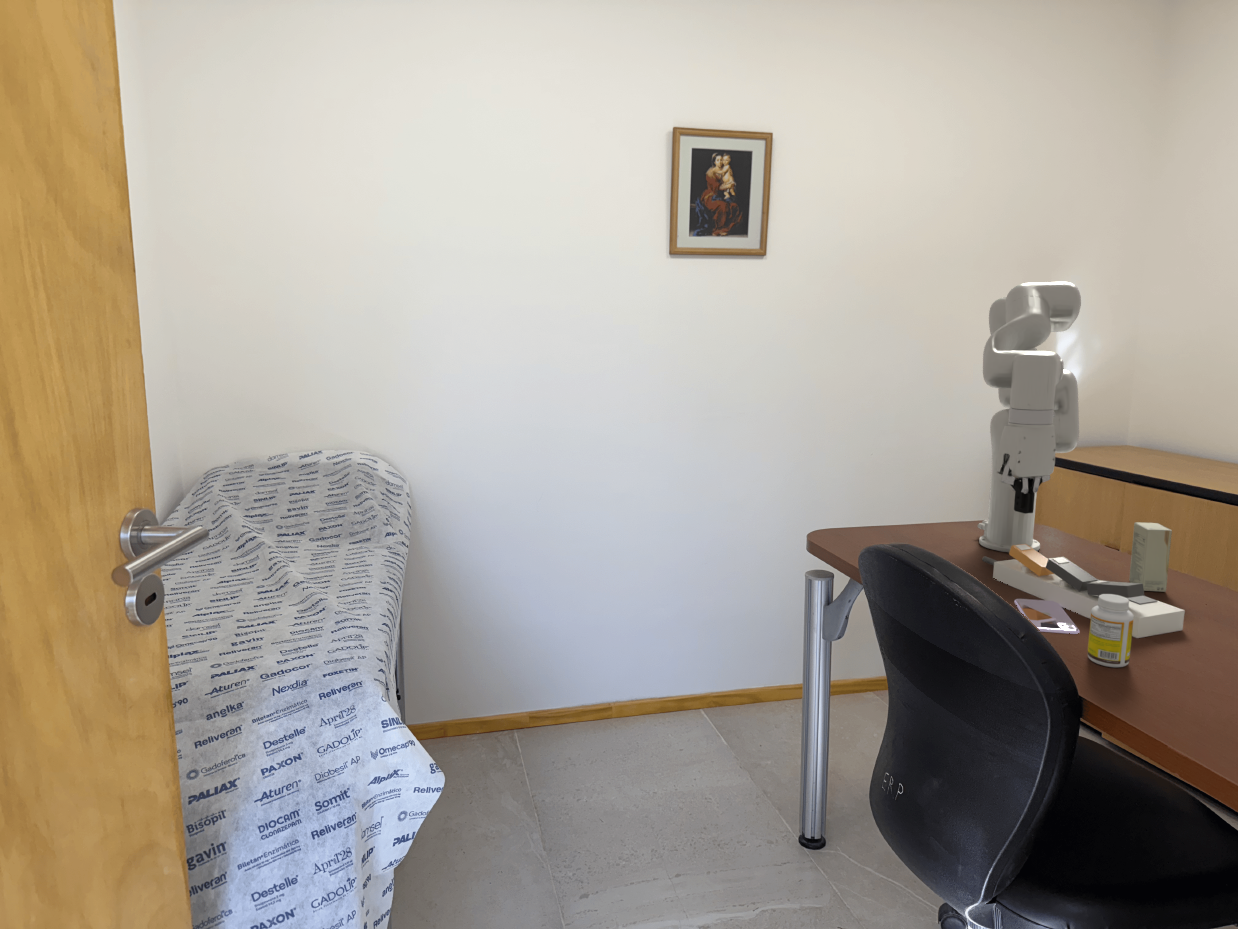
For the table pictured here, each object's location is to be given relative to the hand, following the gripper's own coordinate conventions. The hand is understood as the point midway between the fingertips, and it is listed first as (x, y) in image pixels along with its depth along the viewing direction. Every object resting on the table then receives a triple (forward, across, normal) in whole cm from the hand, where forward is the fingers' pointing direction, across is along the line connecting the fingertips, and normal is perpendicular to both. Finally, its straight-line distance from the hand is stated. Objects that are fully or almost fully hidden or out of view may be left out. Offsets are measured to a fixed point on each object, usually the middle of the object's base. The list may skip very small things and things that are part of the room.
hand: (1023, 511), depth 155 cm
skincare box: (+15, -22, +10) cm, 28 cm away
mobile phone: (+16, +8, +15) cm, 23 cm away
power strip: (+15, -3, +8) cm, 17 cm away
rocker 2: (+9, 0, +12) cm, 15 cm away
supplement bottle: (+16, +14, +32) cm, 39 cm away
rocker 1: (+9, 0, +3) cm, 9 cm away
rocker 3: (+9, 0, +21) cm, 23 cm away
